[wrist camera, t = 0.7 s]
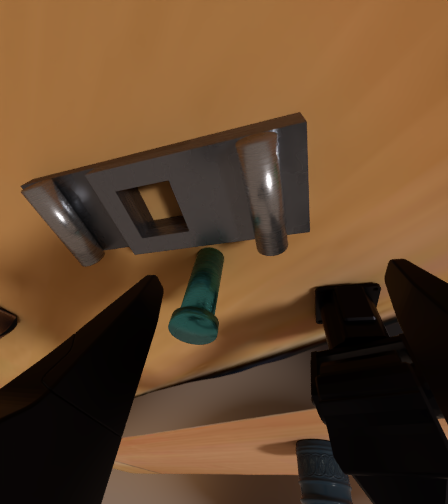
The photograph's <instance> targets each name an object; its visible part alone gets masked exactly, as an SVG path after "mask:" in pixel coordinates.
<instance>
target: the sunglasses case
mask: <svg viewBox="0 0 448 504" xmlns="http://www.w3.org/2000/svg"><path fill="white" fill-rule="evenodd" d="M16 326H17V318H16V316H15V315H13V314H10V313H8V312H6V311H4V310H2V309H0V338H2V337H4V336H5V335H7V334H8V333H10V332H11V331H12V330H14V328H15V327H16Z"/></svg>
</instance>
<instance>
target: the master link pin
mask: <svg viewBox="0 0 448 504" xmlns="http://www.w3.org/2000/svg"><path fill="white" fill-rule="evenodd" d="M223 263H224V256H223V254H222V253H221V252H220V251H219V250H217V249H214V248H203V249H201V250H200V251H199V252H198V254H197V257H196V260H195V263H194V267H193V270H192V273H191V276H190V279H189V283H188V286H187V289H186V292H185V295H184V299H183V302H182V305H181V307H180V308H178V309H176V310H175V311H174V312H173V314H172V316H171V319H170V322H169V325H168V329H169V331H170V333H171V334H172V335H173V336H174V337H175V338H177V339H179V340H181V341H183V342H186V343H189V344H196V345H203V344H208V343H211V342H213V341H214V340H215V339H216V338H217V333H218V327H219V321H218V319H217V317H216V316H215V309H216V303H217V298H218V292H219V286H220V280H221V275H222V269H223Z"/></svg>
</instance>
